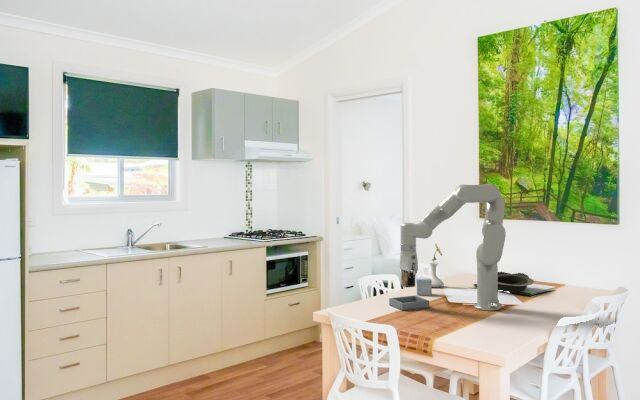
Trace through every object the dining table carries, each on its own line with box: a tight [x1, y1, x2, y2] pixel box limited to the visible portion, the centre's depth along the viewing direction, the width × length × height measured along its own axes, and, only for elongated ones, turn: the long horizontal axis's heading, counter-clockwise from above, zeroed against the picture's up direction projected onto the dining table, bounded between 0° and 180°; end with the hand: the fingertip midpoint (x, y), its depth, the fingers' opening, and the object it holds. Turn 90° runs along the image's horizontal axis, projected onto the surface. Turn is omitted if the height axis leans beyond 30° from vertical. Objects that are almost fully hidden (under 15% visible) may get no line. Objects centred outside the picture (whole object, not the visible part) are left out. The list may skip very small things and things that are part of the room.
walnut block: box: [400, 271, 416, 288], centre depth 263 cm, size 5×5×7 cm
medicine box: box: [415, 277, 433, 296], centre depth 289 cm, size 8×4×9 cm, turn 84°
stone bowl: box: [498, 271, 535, 294], centre depth 295 cm, size 25×25×9 cm
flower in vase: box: [429, 243, 445, 288], centre depth 310 cm, size 13×11×25 cm
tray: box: [388, 294, 430, 312], centre depth 263 cm, size 13×15×4 cm
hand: (408, 284), depth 263 cm, fingers closed on walnut block, 5 cm apart
